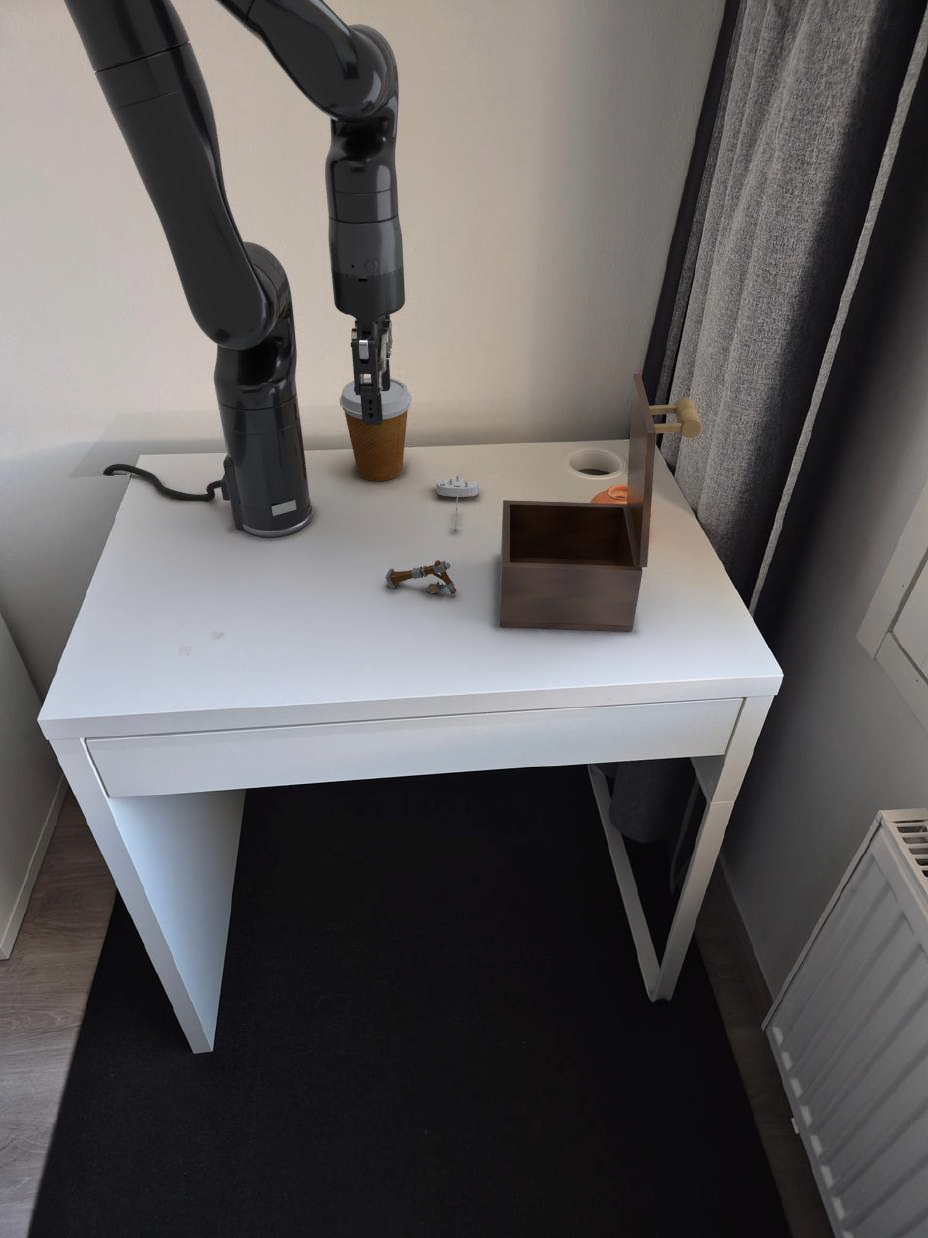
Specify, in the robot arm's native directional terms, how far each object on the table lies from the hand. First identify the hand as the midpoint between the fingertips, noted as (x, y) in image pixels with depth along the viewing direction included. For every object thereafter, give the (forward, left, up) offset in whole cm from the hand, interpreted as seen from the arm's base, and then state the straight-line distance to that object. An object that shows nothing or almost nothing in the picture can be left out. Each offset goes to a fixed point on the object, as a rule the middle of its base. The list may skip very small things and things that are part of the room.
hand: (377, 406), depth 100 cm
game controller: (+9, +6, -17) cm, 20 cm away
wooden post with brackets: (+6, -12, -17) cm, 22 cm away
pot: (+30, +1, -17) cm, 34 cm away
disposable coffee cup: (-2, +15, -17) cm, 23 cm away
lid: (+28, -12, 0) cm, 31 cm away
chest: (+22, -12, -17) cm, 30 cm away
